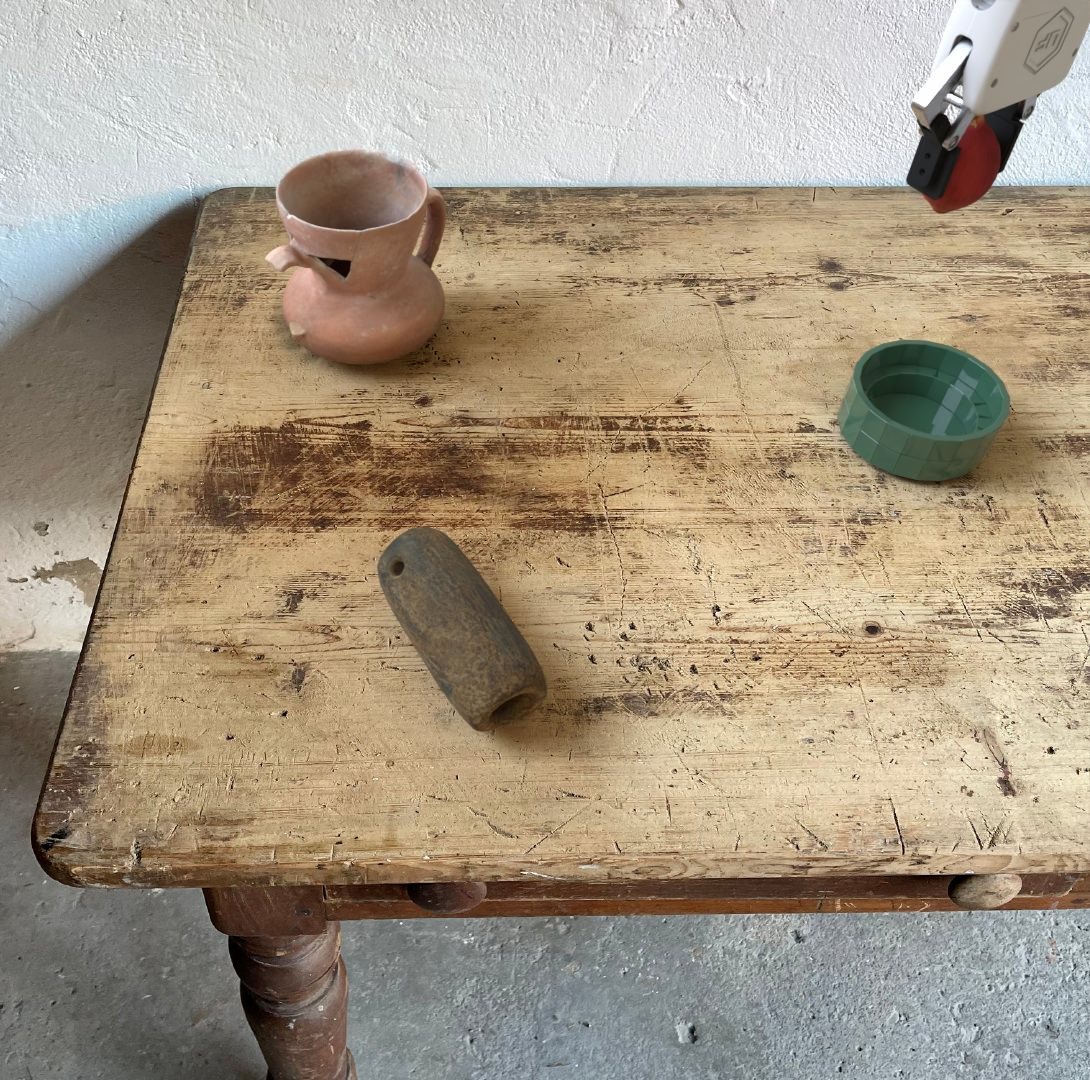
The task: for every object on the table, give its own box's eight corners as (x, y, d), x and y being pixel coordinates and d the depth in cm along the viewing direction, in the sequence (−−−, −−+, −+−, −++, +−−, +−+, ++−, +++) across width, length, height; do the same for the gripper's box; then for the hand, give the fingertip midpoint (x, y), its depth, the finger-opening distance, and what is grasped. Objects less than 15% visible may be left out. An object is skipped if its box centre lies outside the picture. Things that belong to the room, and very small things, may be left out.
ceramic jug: (334, 411, 85) (313, 266, 74) (246, 328, 92) (214, 183, 81) (496, 328, 92) (500, 184, 81) (403, 256, 99) (394, 114, 88)
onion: (919, 183, 81) (956, 83, 75) (988, 207, 79) (1032, 106, 73) (890, 216, 78) (926, 114, 72) (962, 241, 76) (1005, 139, 70)
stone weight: (362, 605, 73) (354, 546, 67) (443, 564, 75) (441, 504, 70) (476, 758, 65) (476, 704, 60) (562, 707, 68) (569, 651, 62)
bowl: (904, 368, 89) (924, 322, 85) (1015, 448, 83) (1043, 402, 79) (805, 419, 85) (822, 373, 81) (915, 507, 79) (939, 462, 75)
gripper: (1018, -44, 57) (911, 236, 72) (1200, -104, 63) (1067, 168, 77) (919, -86, 61) (836, 188, 76) (1099, -138, 67) (990, 126, 81)
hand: (954, 176), depth 76 cm, fingers closed on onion, 5 cm apart
